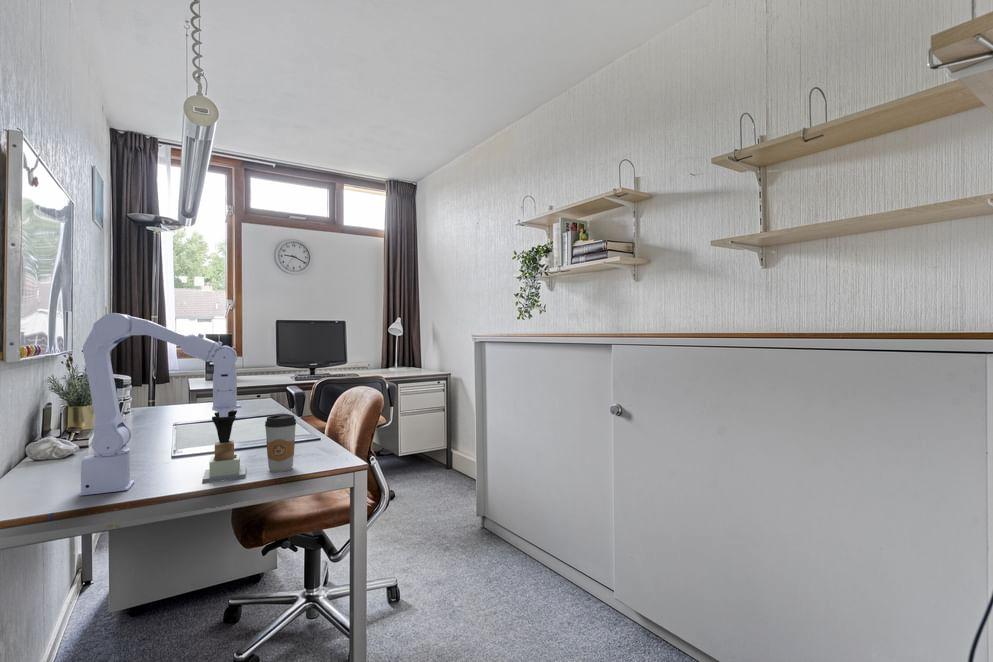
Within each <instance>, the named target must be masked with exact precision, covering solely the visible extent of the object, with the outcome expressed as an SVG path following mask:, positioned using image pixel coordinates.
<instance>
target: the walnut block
mask: <svg viewBox="0 0 993 662" xmlns="http://www.w3.org/2000/svg"><path fill="white" fill-rule="evenodd" d="M234 454H235V440H234V439H231V440H229V442H227V443H220V442H219V441H215V442H214V456H215V461H223V460H233V459H234Z"/></svg>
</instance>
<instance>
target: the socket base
mask: <svg viewBox="0 0 993 662" xmlns="http://www.w3.org/2000/svg"><path fill="white" fill-rule="evenodd" d="M208 468H209V469H205V471H204V473H203V476H202V480H201V481H202V484H206V483H205V482H207V483H215V482H222V480H224V481H231V479H232V480H239V478H240V479H246V475H247V473H246V472H247V465H241V453H234V459H233V460H223V461H215V455H214V456H211V457H210V460H209V467H208ZM214 481H215V482H214Z"/></svg>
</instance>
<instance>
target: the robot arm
mask: <svg viewBox="0 0 993 662" xmlns="http://www.w3.org/2000/svg"><path fill="white" fill-rule="evenodd" d="M92 325H93V326H92V329H91V330H90V333H89V334H88V335H87V338H86V340H85V342H84V343H83V346H82V353H83V358H84V364H85V368H86V374H87V381H88V385H89V391H90V397H91V400H92V401H91V402H92V407H93V412H94V423H93V437H92V439H91V442H90V443H91V448H92V449H93V451H94V452H93V454H91V455H84V457H83V458H82V460H81V464H80V465H81V466H80V493H79V496H89V495H90V496H91V495H97V494H104V493H106V494H107V493H113V492H122V491H123V492H124V491H129V489H130V488H131V487H132V486H133V484H134V483H135V480H134V479H131V452H130V451H131V449H130V448H129V446H128V445H127V444H128V443H129V442H130V440H131V438H132V432H131V429H130V428H129V427H128V426H127V424H126V423H125V419H124V417H123V414H121V410H120V404H119V399H118V398H119V397H118V393H117V388H116V383H115V377H114V371H113V366H112V361H111V355H110V352H111V351H112V350H113V349H114V348H115V347H116V346H117V345H119V343H120V342H122V341H124V340H127V338H130V337H132V336H149V337H152V338H154V339H158V340H161V341H163V342H167V343H169V344H172V345H176V346H178V347H180V348H181V351H182V353H183V354H185V355H188V356H191V357H193V358H196V359H199V360H202V361H204V362H206V363H209V362H212V364H213V374H212V407H211V410H212V411H213V412H214V416H212V417H211V420H212V422H213V424H214V426H215V429H216V433H217V437H218V442H220V443H227V442H229V441H230V439H231V434H232V431H233V424H234V422H235V420H236V418H237V413H238V409H242V404H238V403H237V397H238V393H237V391H238V390H237V389H238V388H237V386H238V384H237V383H238V382H237V381H238V380H237V379H238V378H237V377H238V376H237V375H238V374H237V366H236V362H237V360H238V355H237V352H236V350H235V349H234V348H232V347H230V346H229V345H223V342H222V341H214V340H212V339H209V338H206V337H205V334H202V333H198V334H196V333H191V334H188V335H185V334H183V333H180V332H178V331H176V330H172V329H171V328H168V327H165V326H163V325H161V324H158V323H157V322H154V321H151V320H148V319H145V318H144V319H143V318H139V317H137V316H131V315H129V314H126V313H125V314H124V313H119V312H118V313H117V312H110V313H107V314H104V315H102V317H100V318H98V319H97V320H96V321H95V322H94V323H93V324H92Z"/></svg>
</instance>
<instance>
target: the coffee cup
mask: <svg viewBox="0 0 993 662" xmlns="http://www.w3.org/2000/svg"><path fill="white" fill-rule="evenodd" d="M264 422H265V424H264V427H265V436H266V437H265V438H266V454H267V455H266V456H267V464H268V469H269V471H270V472H272V473H281V472H287V471H291V470H292V468H293V467H294V456H295V447H296V446H295V444H296V438H295V437H296V425H297V420H296V418H295V415H293V414H275V415H269V416H267V417H266V420H265V421H264Z"/></svg>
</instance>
